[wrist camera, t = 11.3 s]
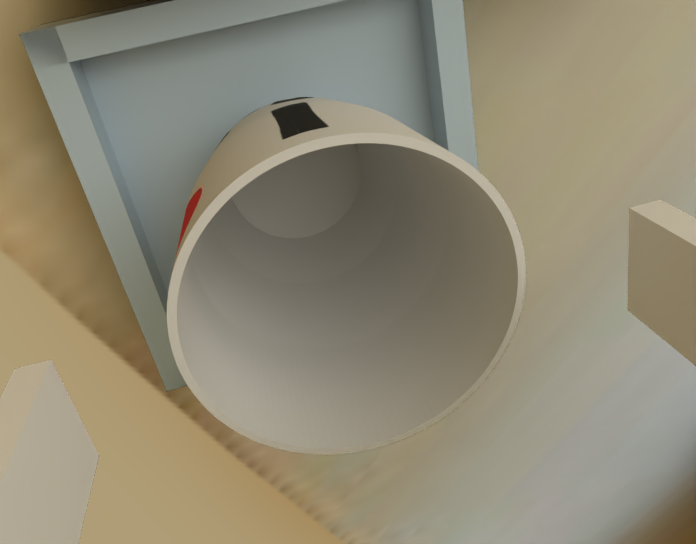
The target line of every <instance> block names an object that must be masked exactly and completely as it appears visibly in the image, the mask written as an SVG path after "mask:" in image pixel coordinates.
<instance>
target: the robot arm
mask: <svg viewBox="0 0 696 544" xmlns="http://www.w3.org/2000/svg"><path fill="white" fill-rule="evenodd" d="M628 311H630V312H631V313H632V314H633V315H634V316H636V317H637V318H638V319H639V320H640V321H642V322H643V323H644V324H645V325H647V326H648V327H649V328H650V329H651V330H653V331H654V332H655V333H656V334H658V335H659V336H660V337H661V338H662V339H664V340H665V341H666V342H667V343H668V344H670V345H671V346H672V347H673V348H675V349H676V350H677V351H678V352H679V353H681V354H682V355H683V356H684V357H685V358H687V359H688V360H689V361H690V362H692V363H693V364H694V365H695V366H696V218H695V217H693V216H691V215H689V214H687V213H685V212H683V211H681V210H679V209H677V208H675V207H673V206H671V205H669V204H668V203H666V202H664V201H662V200H658V201H654V202H650V203H646V204H642V205H638V206H635V207H631V208H629V258H628ZM98 459H99V455H98V453H97V451H96V449H95V447H94V445H93V443H92V441H91V439H90V437H89V435H88V432H87V430H86V428H85V426H84V424H83V422H82V421H81V418H80V416H79V414H78V412H77V410H76V408H75V406H74V404H73V402H72V400H71V398H70V397H69V394H68V392H67V390H66V388H65V386H64V384H63V382H62V380H61V378H60V376H59V374H58V372H57V370H56V368H55V366H54V364H53V362H52V360H51V359H50V360H46V361H43V362H39V363H35V364H31V365H27V366H23V367H20V368H16V369H14V371H13V373H12V375H11V377H10V379H9V381H8V383H7V385H6V387H5V389H4V391H3V394H2V395H1V397H0V544H79V539H80V535H81V531H82V526H83V522H84V518H85V514H86V510H87V505H88V501H89V496H90V493H91V488H92V484H93V480H94V476H95V471H96V467H97V463H98Z"/></svg>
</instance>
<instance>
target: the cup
mask: <svg viewBox="0 0 696 544" xmlns="http://www.w3.org/2000/svg"><path fill="white" fill-rule="evenodd" d="M525 287H526V263H525V254H524V248H523V243H522V239H521V236H520V233H519V230H518V227H517V224H516V222H515V219H514V217H513V215H512V213H511V211H510V209H509V208H508V206H507V204H506V203H505V201H504V199H503V198H502V197H501V195H500V194H499V192H498V191H497V190H496V189H495V187H494V186H493V185H492V184H491V183H490V182H489V181H488V180H487V179H486V178H485V177H484V176H483V175H482V174H481V173H480V172H479V171H478V170H476V169H475V168H474V167H473V166H471V165H470V164H469V163H467V162H466V161H464V160H463V159H461V158H459V157H458V156H456V155H455V154H453V153H451V152H449V151H448V150H446V149H444V148H443V147H441V146H439V145H438V144H436V143H434V142H433V141H431V140H429V139H428V138H426V137H424V136H422V135H421V134H419V133H417V132H416V131H414V130H412V129H411V128H409V127H407V126H406V125H404V124H402V123H401V122H399V121H397V120H395V119H394V118H392V117H390V116H388V115H386V114H384V113H381V112H379V111H377V110H374V109H371V108H368V107H364V106H360V105H356V104H351V103H346V102H340V101H335V100H330V99H325V98H318V97H296V98H289V99H284V100H280V101H276V102H273V103H270V104H268V105H265V106H263V107H261V108H259V109H257V110H255V111H253V112H252V113H250V114H249V115H247V116H246V117H244V118H243V119H242V120H240V121H239V122H238V123H237V124H236V125H235V126H234V127H233V128H232V129H231V130H230V131H229V132H228V133H227V134H226V135H225V136H224V138H223V139H222V140H221V142H220V143H219V145H218V146H217V148H216V149H215V151H214V153H213V154H212V156H211V157H210V159H209V161H208V162H207V164H206V165H205V167H204V169H203V170H202V172H201V174H200V175H199V177H198V179H197V181H196V183H195V185H194V187H193V189H192V192H191V194H190V197H189V200H188V204H187V207H186V211H185V216H184V221H183V225H182V230H181V234H180V239H179V243H178V248H177V253H176V257H175V262H174V266H173V271H172V276H171V280H170V285H169V291H168V299H167V328H168V335H169V341H170V345H171V349H172V353H173V356H174V359H175V361H176V364H177V366H178V369H179V371H180V373H181V375H182V377H183V379H184V380H185V382H186V384H187V385H188V387H189V388H190V390H191V391H192V393H193V394H194V395H195V397H196V398H197V399H198V400H199V402H200V403H201V404H202V405H203V406H204V407H205V408H206V409H207V410H208V411H209V412H210V413H211V414H212V415H213V416H215V417H216V418H217V419H218V420H219V421H221V422H222V423H223V424H225V425H226V426H228V427H229V428H231V429H232V430H234V431H236V432H237V433H239V434H241V435H243V436H245V437H247V438H249V439H251V440H253V441H256V442H258V443H261V444H264V445H267V446H270V447H273V448H277V449H280V450H285V451H290V452H295V453H303V454H315V455H335V454H347V453H355V452H361V451H366V450H371V449H375V448H379V447H382V446H386V445H389V444H392V443H395V442H397V441H400V440H403V439H405V438H408V437H410V436H412V435H414V434H416V433H418V432H420V431H422V430H424V429H426V428H428V427H430V426H431V425H433V424H435V423H436V422H438V421H439V420H441V419H442V418H444V417H445V416H447V415H448V414H450V413H451V412H452V411H454V410H455V409H456V408H457V407H459V406H460V405H461V404H462V403H463V402H464V401H466V400H467V399H468V398H469V397H470V396H471V395H472V394H473V393H474V392H475V391H476V390H477V389H478V388H479V387H480V386H481V385H482V383H483V382H484V381H485V380H486V379H487V378H488V376H489V375H490V374H491V372H492V371H493V370H494V368H495V367H496V365H497V364H498V362H499V361H500V359H501V358H502V356H503V354H504V353H505V351H506V349H507V347H508V345H509V343H510V341H511V339H512V337H513V334H514V332H515V330H516V327H517V324H518V321H519V318H520V314H521V311H522V306H523V302H524V295H525Z"/></svg>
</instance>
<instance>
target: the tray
mask: <svg viewBox="0 0 696 544" xmlns="http://www.w3.org/2000/svg"><path fill="white" fill-rule="evenodd" d="M19 35H20V37H21V39H22V42H23V44H24V47H25V49H26V52H27V54H28V56H29V59H30V61H31V64H32V66H33V69H34V71H35V73H36V76H37V78H38V81H39V83H40V86H41V88H42V90H43V93H44V95H45V98H46V100H47V102H48V105H49V107H50V110H51V112H52V115H53V117H54V119H55V122H56V124H57V127H58V129H59V132H60V134H61V136H62V139H63V141H64V144H65V146H66V149H67V151H68V153H69V156H70V158H71V161H72V163H73V166H74V168H75V170H76V173H77V175H78V178H79V180H80V182H81V185H82V187H83V190H84V192H85V195H86V197H87V199H88V202H89V204H90V207H91V209H92V212H93V214H94V216H95V219H96V221H97V224H98V226H99V229H100V231H101V233H102V236H103V238H104V241H105V243H106V245H107V248H108V250H109V253H110V255H111V258H112V260H113V262H114V265H115V267H116V270H117V272H118V275H119V277H120V279H121V282H122V284H123V287H124V289H125V292H126V294H127V296H128V299H129V301H130V304H131V306H132V309H133V311H134V313H135V316H136V318H137V321H138V323H139V325H140V328H141V330H142V333H143V335H144V338H145V340H146V342H147V345H148V347H149V350H150V352H151V355H152V357H153V359H154V362H155V364H156V367H157V369H158V372H159V374H160V376H161V379H162V381H163V384H164V386H165V388H166V391H170V390H174V389H177V388H181V387H185V386H188V385H187V384H186V382H185V380H184V379H183V377H182V375H181V373H180V371H179V369H178V366H177V364H176V361H175V359H174V356H173V353H172V349H171V345H170V341H169V335H168V328H167V299H168V291H169V285H170V280H171V276H172V271H173V266H174V262H175V257H176V253H177V248H178V243H179V239H180V234H181V230H182V225H183V221H184V216H185V211H186V207H187V204H188V200H189V197H190V194H191V192H192V189H193V187H194V185H195V183H196V181H197V179H198V177H199V175H200V174H201V172H202V170H203V169H204V167H205V165H206V164H207V162H208V161H209V159H210V157H211V156H212V154H213V153H214V151H215V149H216V148H217V146H218V145H219V143H220V142H221V140H222V139H223V138H224V136H225V135H226V134H227V133H228V132H229V131H230V130H231V129H232V128H233V127H234V126H235V125H236V124H237V123H238V122H239V121H240V120H242V119H243V118H244V117H246V116H247V115H249V114H250V113H252V112H253V111H255V110H257V109H259V108H261V107H263V106H265V105H268V104H270V103H273V102H276V101H280V100H284V99H289V98H296V97H318V98H325V99H330V100H335V101H340V102H346V103H351V104H356V105H360V106H364V107H368V108H371V109H374V110H377V111H379V112H381V113H384V114H386V115H388V116H390V117H392V118H394V119H395V120H397V121H399V122H401V123H402V124H404V125H406V126H407V127H409V128H411V129H412V130H414V131H416V132H417V133H419V134H421V135H422V136H424V137H426V138H428V139H429V140H431V141H433V142H434V143H436V144H438V145H439V146H441V147H443V148H444V149H446V150H448V151H449V152H451V153H453V154H455V155H456V156H458V157H459V158H461V159H463V160H464V161H466V162H467V163H469V164H470V165H471V166H473V167H474V168H475V169H476V170H478V163H477V152H476V141H475V130H474V119H473V108H472V97H471V86H470V75H469V64H468V53H467V42H466V31H465V20H464V9H463V0H153V1H148V2H144V3H139V4H135V5H130V6H125V7H121V8H116V9H112V10H107V11H102V12H98V13H93V14H89V15H84V16H79V17H75V18H70V19H66V20H61V21H57V22H52V23H47V24H43V25H39V26H36V27H34V28H32V29H30V30H27V31H25V32H23V33H21V34H19Z"/></svg>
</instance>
